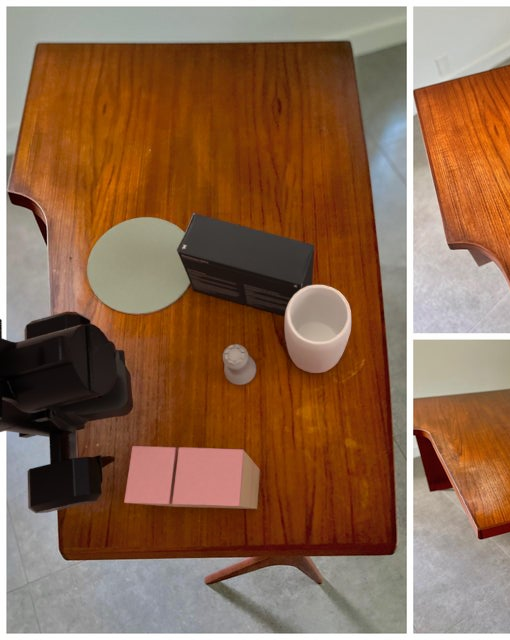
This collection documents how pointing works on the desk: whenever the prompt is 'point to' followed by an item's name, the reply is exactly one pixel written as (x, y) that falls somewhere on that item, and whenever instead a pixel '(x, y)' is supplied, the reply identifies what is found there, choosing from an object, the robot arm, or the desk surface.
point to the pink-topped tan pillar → (152, 476)
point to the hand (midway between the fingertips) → (108, 418)
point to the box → (245, 263)
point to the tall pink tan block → (216, 478)
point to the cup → (317, 327)
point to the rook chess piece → (238, 365)
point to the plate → (138, 266)
